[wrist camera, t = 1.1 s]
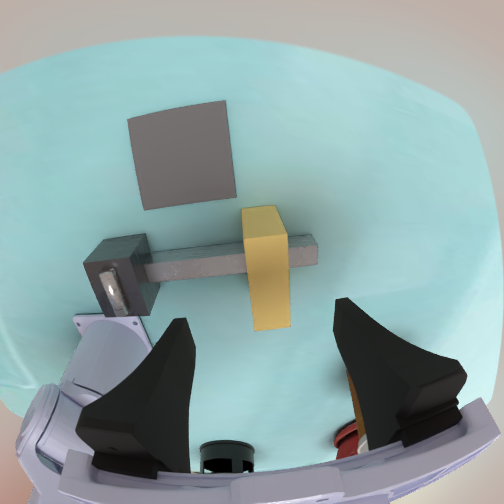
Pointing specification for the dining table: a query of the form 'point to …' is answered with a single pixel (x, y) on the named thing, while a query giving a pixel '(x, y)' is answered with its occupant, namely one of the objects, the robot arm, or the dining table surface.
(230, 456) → the french press
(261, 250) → the yellow pull handle
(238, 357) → the dining table surface
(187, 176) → the rubber mat
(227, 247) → the grey block with bar
